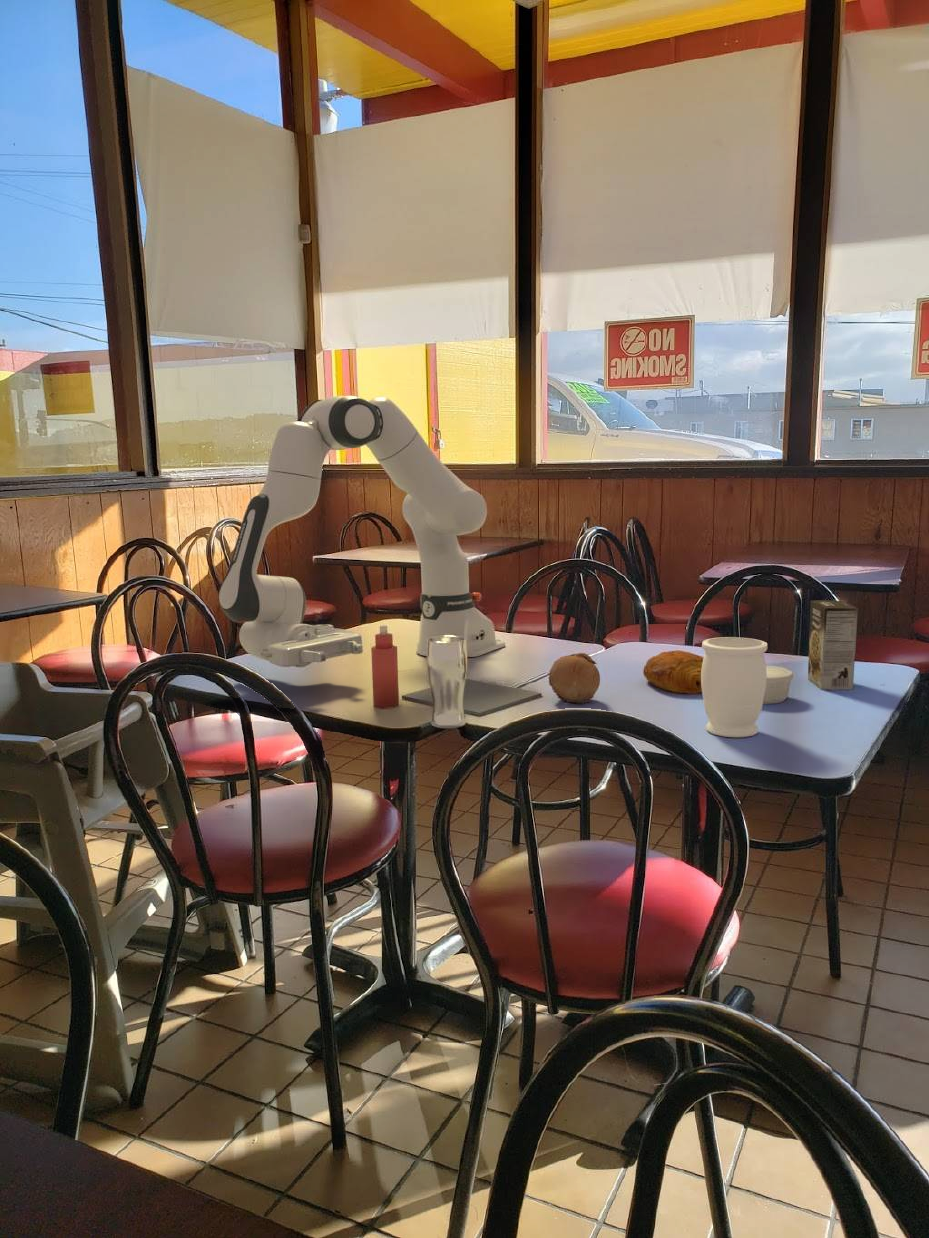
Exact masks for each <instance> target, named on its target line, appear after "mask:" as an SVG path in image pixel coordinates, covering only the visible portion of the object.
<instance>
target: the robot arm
mask: <svg viewBox="0 0 929 1238" xmlns="http://www.w3.org/2000/svg"><path fill="white" fill-rule="evenodd" d="M363 446H366V447H367V448H368V449H369V451H370V452H371V453H372V455H373V457H374V458H375V459H376V460H377V462H378V463H379V464H380V466H381V467H382V469H383V471H384V472H385V473H386V474H387V476H388V477H389V478H390V480H391V481H392V483H394V485H395V486H396V487H397V488H399V490H402V491H403V492H405V493H406V496H405V497H404V499H403V501H402V506H401V510H402V511H401V512H402V516H403V519H404V520H405V522H406V523H407V524H408V526H409V528H410V529H411V532H412V534H413V537H414V541H415V544H416V547H417V551H418V555H419V560H420V562H419V563H420V574H421V575H420V576H421V577H420V578H421V593H420V597H419V602H420V603H419V605H420V606H419V608H420V609H421V615H420V622H419V623H420V625H419V635H418V636H419V637H418V643H417V645H416V649H417V650H416V654H418V655H420V656H425V657H427V646H428V639H429V638H431V637H436V636H461V637H464V638H465V639H466V649H467V658H474V657H475V658H477V657H479V656H482V655H484V654H487V653H490V652H493V651H495V650H498V649H500V648H503V647H506V642H505V641H504V640H501V639H497V638H496V632H495V631H496V630H495V625H494V623H493V621H492V620H491V619H490V618H488V617H487V616H486V615H484V613H482V612H481V611H480V610H479V609H477V608H476V607H475V606H476V605H475V602H474V601H476V602H480V601H481V600H482V598H483V596H482V593H481V592H476V591H475V592H474V591H473V592H472V593H471V592H470V591H469V590H470V580H469V579H470V577H469V575H470V574H469V560H468V557H467V555H466V554H465V553H464V551H463V550H462V548H461V545H460V544H459V540H458V537H457V536H462V535H467V534H471V533H474V532H476V531H479V530H480V529H481V528H482V526H483V525H484V524H485V522H486V519H487V516H488V507H487V502H486V501H485V499H484V497H483V495H482V494H481V493H479V492H478V491H477V490H475V489H472V488H471V487H470V486H468V485H467V484H465V483H464V482H463V480H461V479H460V478H459V477H457V475H456V474H454V472H452V470H450V469H449V468H448V467H447V466H446V465H445V464H444V463H443V462H442V461H441V460H440V459H439V458H438V457H437V456H436V454H435V453H434V452H433V450H432V448H430V446H429V445H428V444H427V442H426V441H425V440H424V438H423V437H422V435H421V434H420V432H419V431H418V429H417V428H416V426H414V424H413V422H412V421H411V420H410V419H409V418H408V416H407V415H406V414H405V413H404V412H403V411H402V410H401V408H400V407H398V405H396V403H394V402H393V401H392V400H391V399H390V398H387V397H385V396H384V397H383V396H379V397H375V398H372V399H370V400H366V399H364V398H362V397H359V396H355V395H346V396H345V395H344V396H343V395H335V396H329V397H327V398H325V399H321V398H320V399H316V400H315V401H313V402H311V403H309V404H308V405H307V406H306V407H305V408H304V410H303V411H302V413H301V415H300V416H299V417H298V419H297V420H296V421H289V422H286V423H284V424H282V425H281V426H280V427H279V428H278V430H277V433H276V435H275V438H274V441H273V444H272V448H271V452H270V456H269V460H268V465H267V475H266V478H265V481H264V483H263V486H262V489H260V492H259V493H258V494H257V495H254V496H253V497H252V498H251V499H250V501H249V502H248V504H247V507H246V510H245V512H244V515H243V518H242V521H241V526H240V528H239V532H238V535H237V539H236V541H235V545H234V549H233V553H232V556H231V560H230V563H229V566H228V569H227V571H226V573H225V575H224V578H223V580H222V582H221V585H220V587H219V590H218V596H217V597H218V598H217V599H218V604H219V606H220V608H221V610H222V612H223V613H224V615H225V616H226V617H227V618H228V619H229V620H231V622H234V623H243V624H242V625H241V627H240V629H239V633H238V635H239V638H238V639H239V642H240V644H241V647H242V648H243V649H244V650H245V652H246V653H248V654H249V655H251V656H253V657H255V658H257V659H260V660H263V661H268V662H269V663H271V664H272V665H275V666H279V667H281V668H282V667H283V668H290V667H291V668H292V667H295V668H305V667H307V666H309V665H310V664H312V663H323V662H326V660H327V659H333V658H336V657H337V658H338V657H343V656H347V655H351V654H352V655H360V654H361V655H362V654H363V652H364V650H363V640H362V635H361V634H360V633H359V632H356V631H355V632H354V631H352V630H349V629H348V630H347V629H341V628H334V625H332V624H309V623H308V624H307V623H303V620H304V618H305V615H306V610H307V599H306V598H307V597H306V593H305V591H304V588H303V586H302V585H301V583H300V582H299V581H298V580H297V579H296V578H294V577H292V576H291V577H289V576H279V575H265V574H258V572H257V571H258V567H259V564H260V560H261V556H262V554H263V553H262V552H263V549H264V546H265V543H266V539H267V537H268V535H269V533H270V532H272V530H273V529H274V528H276V527H277V526H279V525H281V524H283V523H287V522H290V521H293V520H296V519H300V518H301V517H303V516H305V515H307V514H308V513H309V512H310V511H311V510H313V508H314V507H315V506H316V504H317V501H318V498H319V496H320V488H321V483H322V482H321V481H322V473H323V464H324V462H325V459H326V457H327V454H328V453H329V452H330V451H331V450H333V451H344V450H346V449H358V448H360V447H363Z"/></svg>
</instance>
